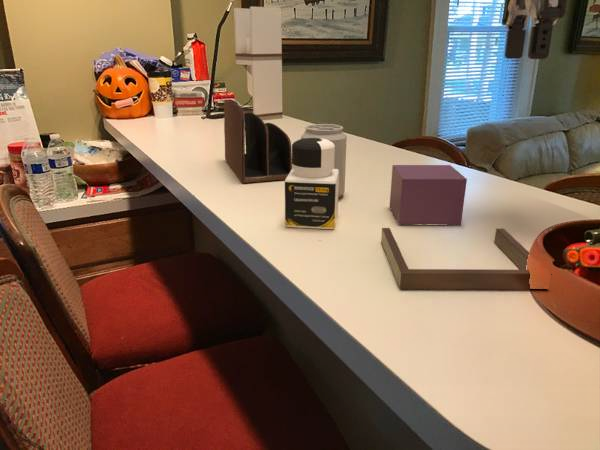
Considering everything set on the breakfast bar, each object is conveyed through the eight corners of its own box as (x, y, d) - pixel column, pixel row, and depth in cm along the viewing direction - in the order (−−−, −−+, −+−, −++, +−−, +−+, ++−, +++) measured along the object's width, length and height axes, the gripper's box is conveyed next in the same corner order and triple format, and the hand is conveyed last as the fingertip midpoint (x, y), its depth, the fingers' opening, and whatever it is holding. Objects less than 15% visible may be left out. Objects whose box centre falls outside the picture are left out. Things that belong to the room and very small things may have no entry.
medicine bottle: (284, 227, 67) (283, 144, 63) (292, 211, 74) (292, 134, 69) (334, 230, 66) (337, 145, 62) (337, 213, 73) (340, 136, 69)
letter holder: (242, 184, 88) (238, 107, 83) (224, 160, 105) (221, 95, 100) (293, 179, 90) (292, 105, 85) (268, 157, 108) (266, 94, 103)
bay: (501, 242, 62) (503, 228, 62) (548, 290, 50) (552, 273, 50) (381, 241, 63) (381, 227, 62) (399, 289, 50) (401, 273, 50)
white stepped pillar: (265, 114, 172) (262, 9, 159) (282, 117, 164) (281, 8, 152) (238, 117, 166) (233, 8, 153) (255, 121, 158) (251, 6, 145)
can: (345, 202, 78) (348, 129, 73) (300, 202, 78) (300, 129, 73) (343, 189, 85) (345, 122, 80) (301, 189, 85) (301, 122, 80)
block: (445, 207, 76) (450, 164, 73) (460, 225, 68) (467, 178, 66) (389, 207, 76) (392, 164, 73) (398, 225, 68) (402, 178, 66)
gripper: (609, -105, 49) (580, 59, 55) (551, -71, 63) (532, 57, 68) (535, -102, 50) (514, 60, 55) (493, -69, 63) (479, 58, 69)
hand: (524, 58), depth 62 cm, fingers open, 8 cm apart
